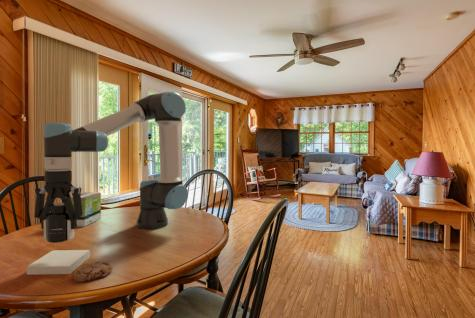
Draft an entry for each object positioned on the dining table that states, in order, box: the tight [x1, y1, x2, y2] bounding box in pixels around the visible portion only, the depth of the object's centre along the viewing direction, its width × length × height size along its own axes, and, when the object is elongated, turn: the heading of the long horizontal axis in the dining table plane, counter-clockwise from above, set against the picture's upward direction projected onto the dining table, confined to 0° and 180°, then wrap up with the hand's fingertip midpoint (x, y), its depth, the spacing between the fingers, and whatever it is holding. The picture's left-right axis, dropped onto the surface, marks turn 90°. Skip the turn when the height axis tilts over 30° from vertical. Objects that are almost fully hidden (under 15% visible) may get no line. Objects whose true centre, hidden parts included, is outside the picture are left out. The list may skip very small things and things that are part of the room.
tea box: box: [70, 191, 102, 228], centre depth 139 cm, size 15×10×15 cm
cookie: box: [73, 261, 113, 283], centre depth 85 cm, size 10×11×3 cm
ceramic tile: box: [26, 249, 91, 276], centre depth 91 cm, size 13×13×2 cm
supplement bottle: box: [46, 202, 70, 244], centre depth 90 cm, size 7×7×12 cm
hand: (59, 238), depth 90 cm, fingers closed on supplement bottle, 7 cm apart
